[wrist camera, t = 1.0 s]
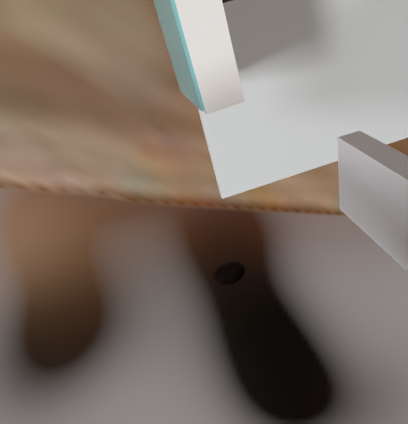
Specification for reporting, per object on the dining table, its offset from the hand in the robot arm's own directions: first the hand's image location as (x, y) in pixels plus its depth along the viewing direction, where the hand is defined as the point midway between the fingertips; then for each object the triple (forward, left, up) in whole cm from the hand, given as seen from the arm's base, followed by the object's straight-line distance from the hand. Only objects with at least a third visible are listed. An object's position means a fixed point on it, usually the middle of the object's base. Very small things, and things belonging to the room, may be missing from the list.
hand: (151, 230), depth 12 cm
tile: (-5, +5, -19) cm, 20 cm away
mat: (+3, +15, -20) cm, 25 cm away
